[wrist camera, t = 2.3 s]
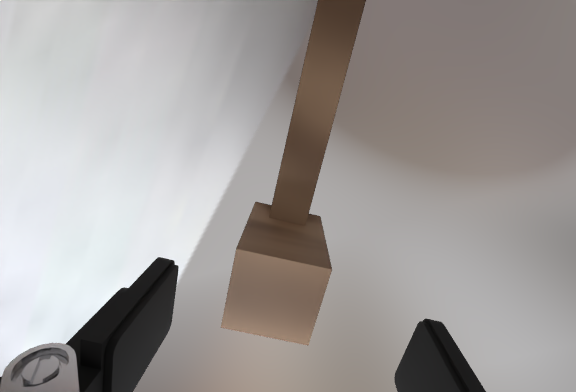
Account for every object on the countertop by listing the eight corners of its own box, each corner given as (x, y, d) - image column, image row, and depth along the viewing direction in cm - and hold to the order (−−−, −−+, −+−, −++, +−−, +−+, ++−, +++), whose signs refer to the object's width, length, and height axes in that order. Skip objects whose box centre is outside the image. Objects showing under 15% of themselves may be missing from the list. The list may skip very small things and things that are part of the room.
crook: (304, 272, 19) (308, 345, 13) (165, 242, 19) (107, 304, 13) (467, -305, 11) (647, -732, 6) (237, -378, 11) (171, -918, 5)
